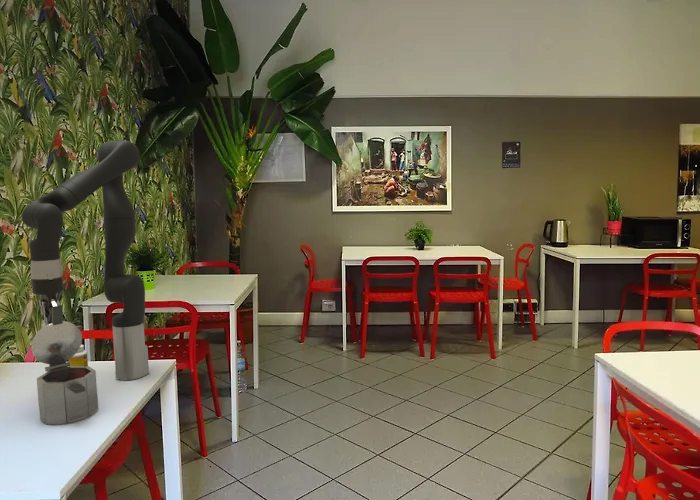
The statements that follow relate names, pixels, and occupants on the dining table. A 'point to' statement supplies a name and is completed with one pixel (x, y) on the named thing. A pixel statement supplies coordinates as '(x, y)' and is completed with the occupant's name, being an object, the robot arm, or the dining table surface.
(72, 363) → the supplement bottle
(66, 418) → the pot
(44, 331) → the lid
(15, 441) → the dining table surface
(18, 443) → the dining table surface
